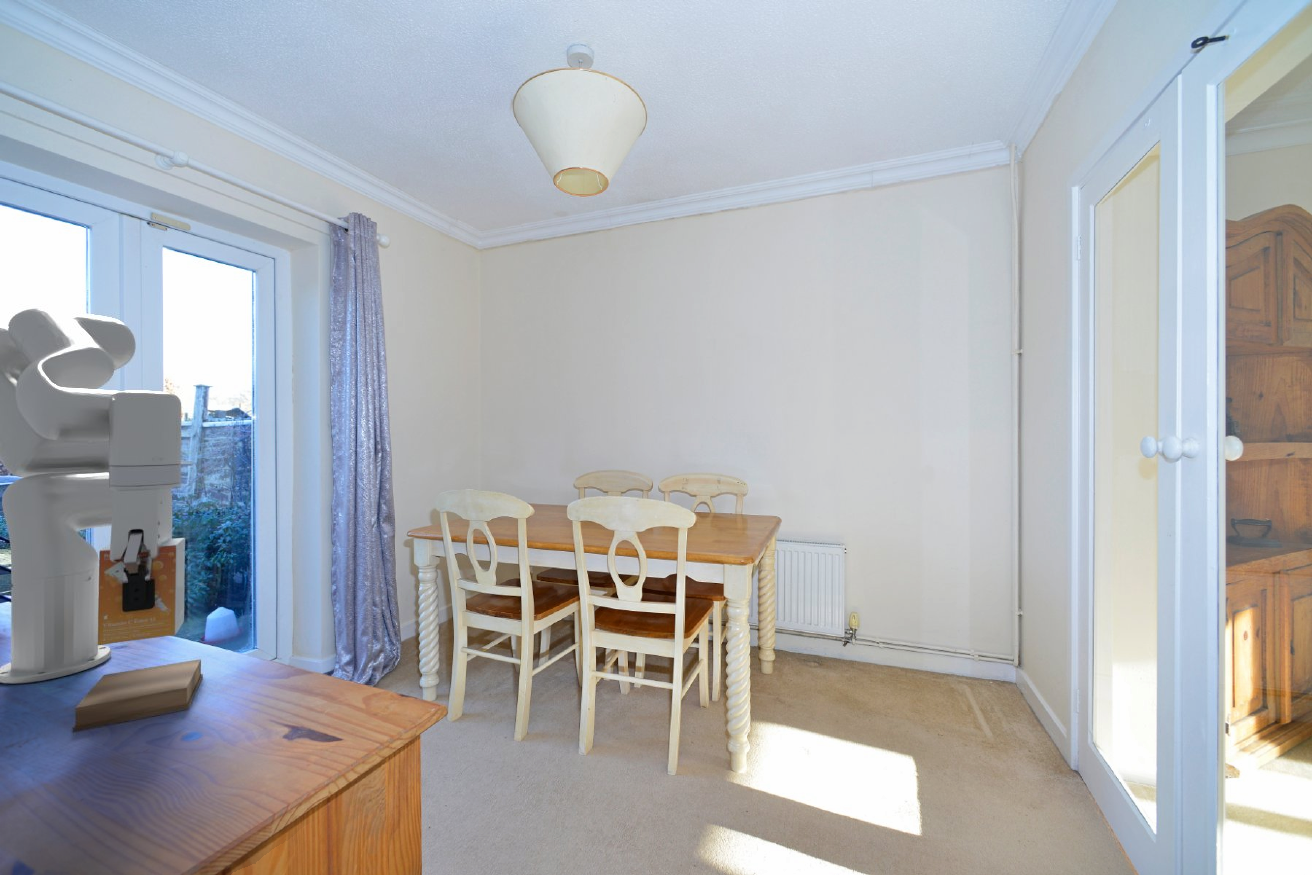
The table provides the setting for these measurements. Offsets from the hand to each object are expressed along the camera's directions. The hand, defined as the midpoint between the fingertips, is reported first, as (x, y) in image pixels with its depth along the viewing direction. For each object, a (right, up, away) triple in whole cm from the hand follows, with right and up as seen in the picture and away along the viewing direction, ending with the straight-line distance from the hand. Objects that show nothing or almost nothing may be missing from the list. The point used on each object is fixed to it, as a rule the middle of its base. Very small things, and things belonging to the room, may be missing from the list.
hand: (145, 601), depth 77 cm
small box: (0, -5, 0) cm, 5 cm away
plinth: (0, -14, 0) cm, 14 cm away
